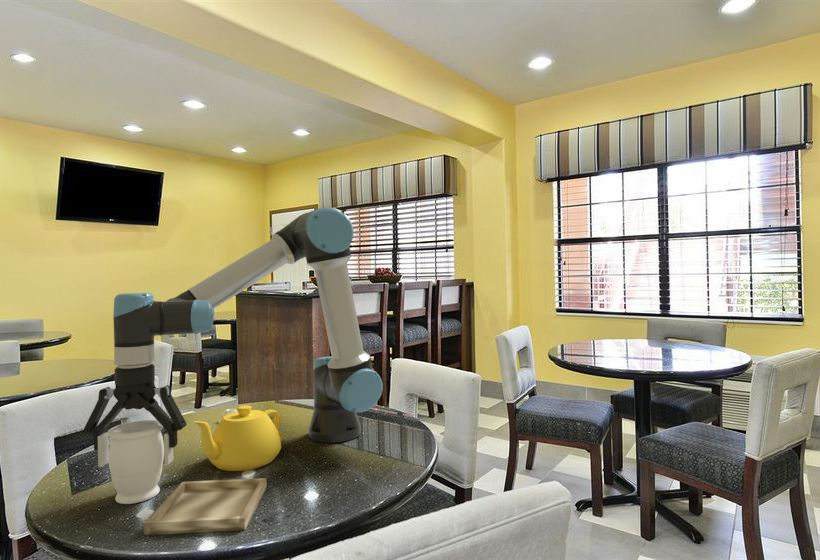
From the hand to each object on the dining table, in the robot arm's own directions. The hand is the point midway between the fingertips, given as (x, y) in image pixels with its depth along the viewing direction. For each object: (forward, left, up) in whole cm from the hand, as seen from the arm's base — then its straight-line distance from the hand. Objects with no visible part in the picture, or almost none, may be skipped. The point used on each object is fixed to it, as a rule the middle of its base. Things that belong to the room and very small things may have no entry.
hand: (136, 463), depth 106 cm
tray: (-18, +8, -7) cm, 21 cm away
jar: (0, 0, -7) cm, 7 cm away
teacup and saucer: (-6, -52, -8) cm, 53 cm away
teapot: (-17, -18, -7) cm, 26 cm away
